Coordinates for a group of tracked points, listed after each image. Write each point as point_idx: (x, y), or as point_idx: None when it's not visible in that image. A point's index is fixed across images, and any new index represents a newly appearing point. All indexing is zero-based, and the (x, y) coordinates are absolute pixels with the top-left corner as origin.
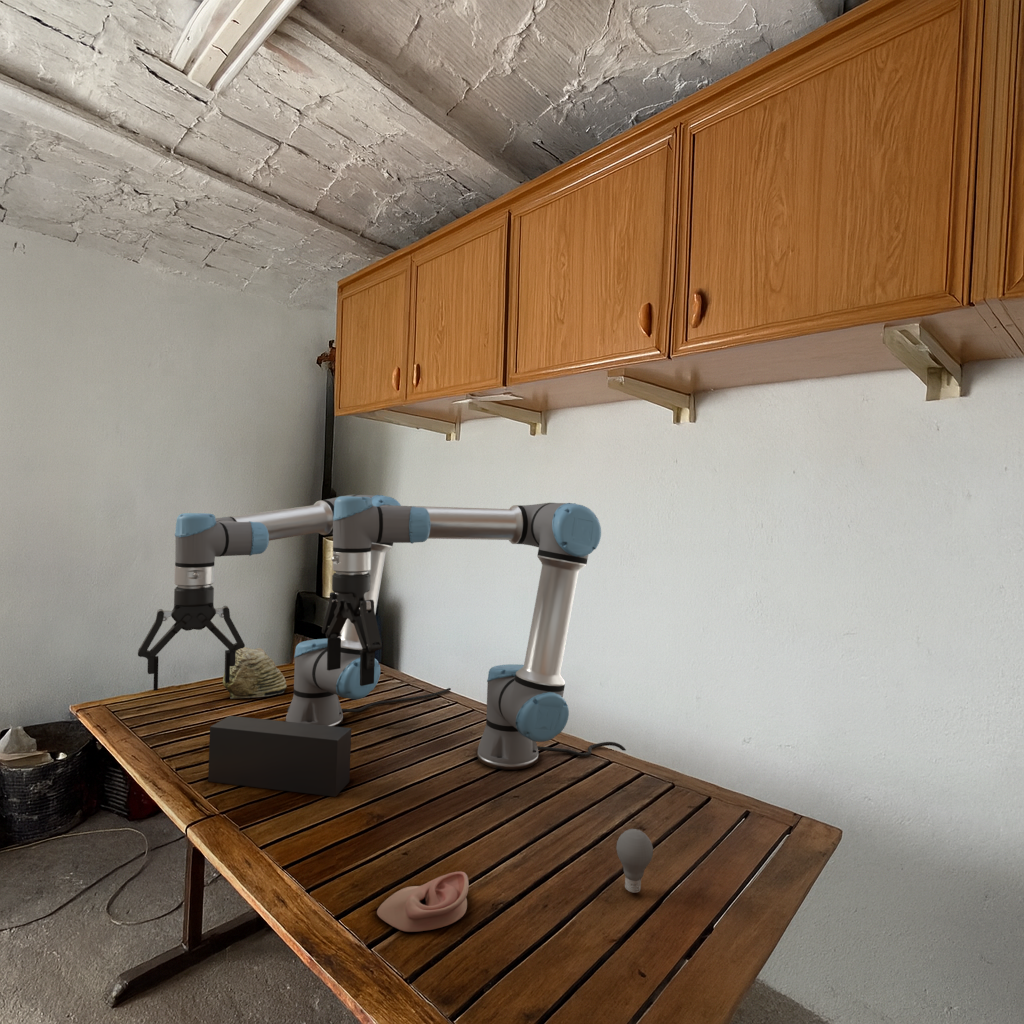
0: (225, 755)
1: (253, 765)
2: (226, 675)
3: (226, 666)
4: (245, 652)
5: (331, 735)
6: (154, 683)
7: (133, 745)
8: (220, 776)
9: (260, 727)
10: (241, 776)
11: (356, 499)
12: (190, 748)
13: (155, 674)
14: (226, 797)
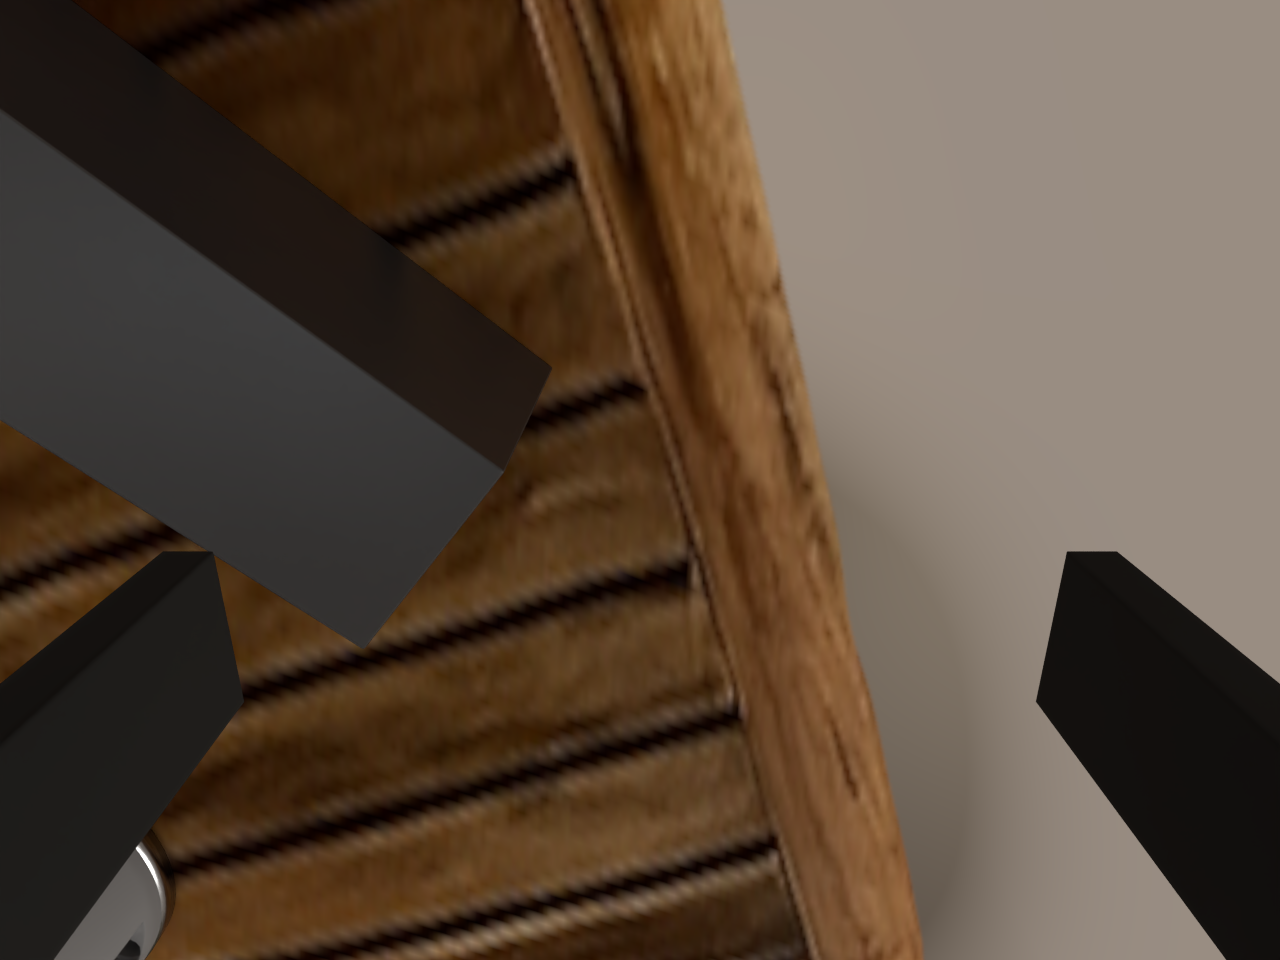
0: (436, 338)
1: (279, 203)
2: (144, 607)
3: (47, 696)
4: None
5: None
6: (1167, 601)
7: (842, 890)
8: (488, 331)
9: (114, 302)
10: (375, 249)
11: None
12: (614, 778)
13: (1253, 682)
14: (468, 122)
